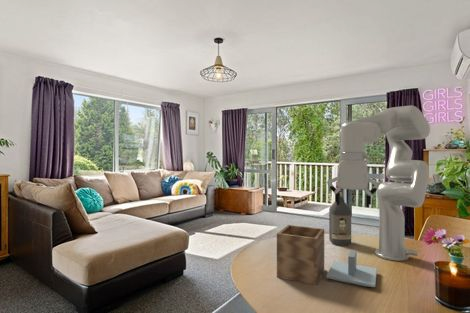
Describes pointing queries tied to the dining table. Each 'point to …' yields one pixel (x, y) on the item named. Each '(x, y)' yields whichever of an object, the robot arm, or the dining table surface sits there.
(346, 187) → the robot arm
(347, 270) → the lid
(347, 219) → the liquor
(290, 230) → the crate
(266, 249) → the dining table surface
